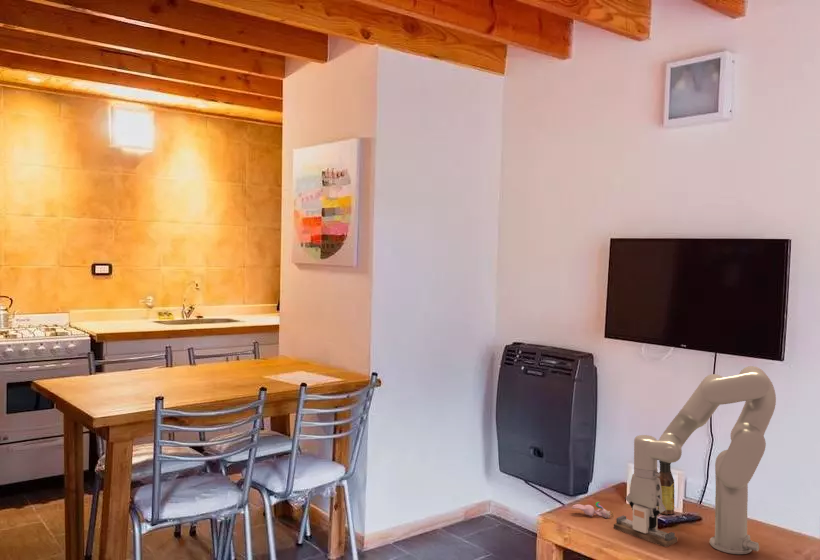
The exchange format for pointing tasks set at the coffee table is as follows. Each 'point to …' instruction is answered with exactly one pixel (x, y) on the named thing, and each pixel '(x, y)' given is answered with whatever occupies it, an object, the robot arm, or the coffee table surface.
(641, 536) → the board
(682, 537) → the coffee table surface
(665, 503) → the sauce bottle
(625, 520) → the rail
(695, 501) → the coffee table surface
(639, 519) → the module
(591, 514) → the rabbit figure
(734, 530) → the robot arm
